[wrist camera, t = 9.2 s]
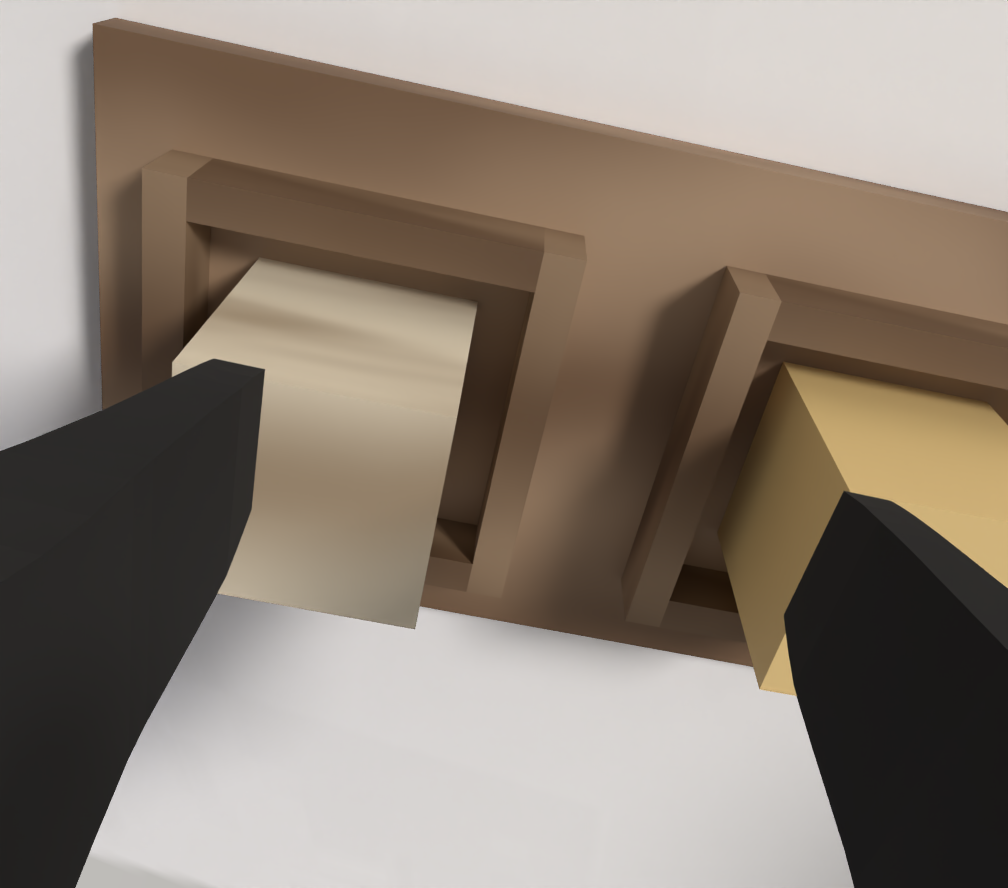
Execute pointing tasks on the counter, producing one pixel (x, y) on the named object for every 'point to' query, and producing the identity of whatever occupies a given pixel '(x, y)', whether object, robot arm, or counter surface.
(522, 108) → the puzzle board
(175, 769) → the counter surface
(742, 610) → the ochre block
